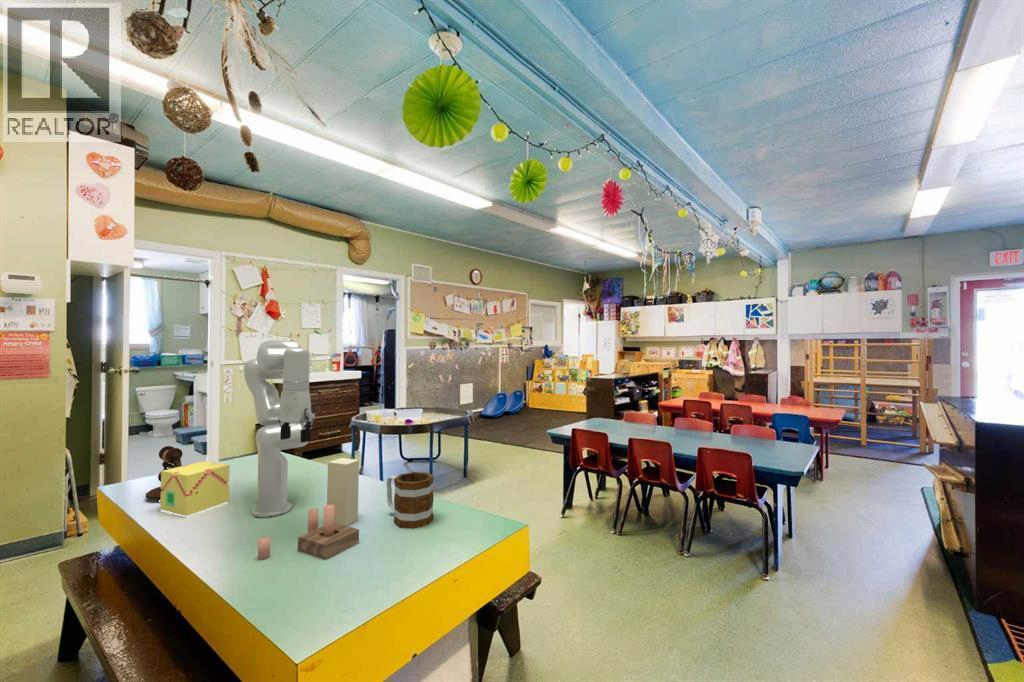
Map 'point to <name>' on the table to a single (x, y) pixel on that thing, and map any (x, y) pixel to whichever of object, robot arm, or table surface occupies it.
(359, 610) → the table surface
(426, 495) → the mug
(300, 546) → the hole block
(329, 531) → the pin long
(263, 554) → the pin short
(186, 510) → the toy block
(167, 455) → the brown rounded figure
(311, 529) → the pin medium
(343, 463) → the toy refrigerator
